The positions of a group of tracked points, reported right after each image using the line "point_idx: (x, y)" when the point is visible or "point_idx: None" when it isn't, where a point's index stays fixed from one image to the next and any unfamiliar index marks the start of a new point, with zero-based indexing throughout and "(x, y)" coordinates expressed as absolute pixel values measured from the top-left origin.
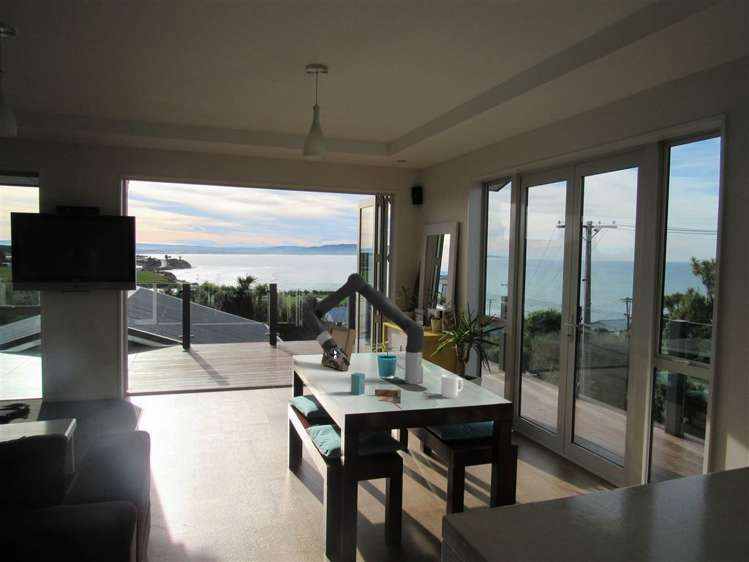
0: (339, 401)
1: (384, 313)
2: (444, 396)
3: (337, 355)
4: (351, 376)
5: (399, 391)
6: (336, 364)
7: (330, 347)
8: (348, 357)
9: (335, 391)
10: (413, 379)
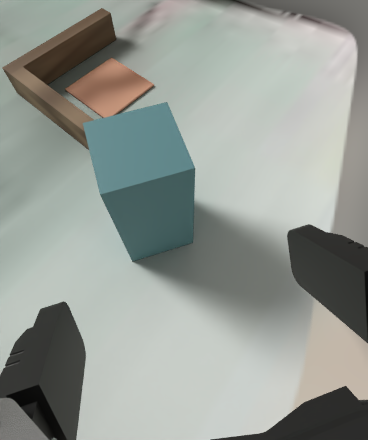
0: (330, 159)
1: None
2: None
3: (310, 431)
4: (193, 178)
5: (30, 55)
6: (361, 246)
7: None
8: None
9: (251, 348)
10: None
